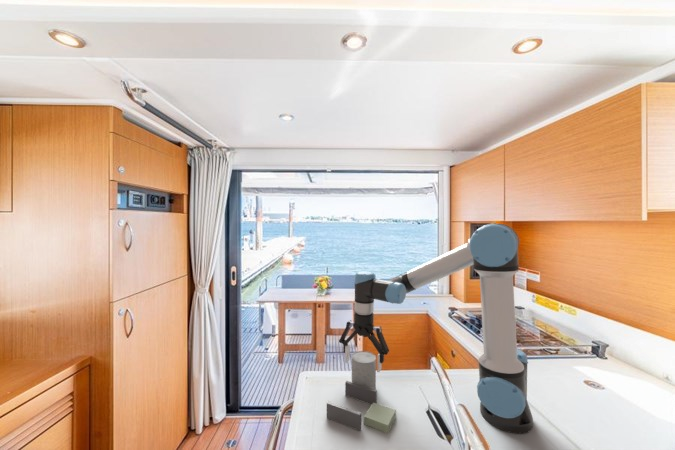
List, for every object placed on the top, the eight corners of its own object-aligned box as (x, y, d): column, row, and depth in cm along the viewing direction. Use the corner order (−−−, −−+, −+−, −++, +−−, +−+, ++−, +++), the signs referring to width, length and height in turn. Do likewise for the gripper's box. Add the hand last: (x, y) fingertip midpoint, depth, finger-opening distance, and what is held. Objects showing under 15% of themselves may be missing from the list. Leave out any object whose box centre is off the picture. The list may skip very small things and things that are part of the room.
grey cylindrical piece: (375, 397, 105) (375, 364, 105) (349, 393, 107) (349, 361, 107) (376, 382, 115) (376, 352, 114) (353, 379, 117) (353, 350, 116)
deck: (395, 417, 94) (395, 409, 94) (387, 433, 87) (388, 425, 87) (373, 409, 98) (373, 402, 98) (364, 424, 91) (364, 416, 91)
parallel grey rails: (376, 403, 101) (376, 390, 101) (359, 431, 88) (359, 415, 88) (346, 393, 107) (346, 380, 107) (326, 417, 94) (326, 403, 94)
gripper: (398, 314, 108) (396, 369, 108) (340, 303, 120) (339, 353, 120) (392, 321, 101) (390, 379, 102) (331, 308, 113) (330, 361, 114)
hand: (362, 365), depth 111 cm, fingers open, 13 cm apart
